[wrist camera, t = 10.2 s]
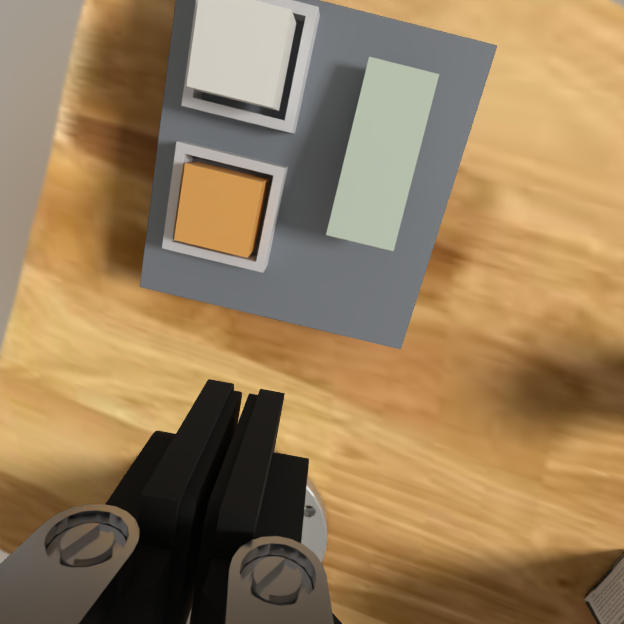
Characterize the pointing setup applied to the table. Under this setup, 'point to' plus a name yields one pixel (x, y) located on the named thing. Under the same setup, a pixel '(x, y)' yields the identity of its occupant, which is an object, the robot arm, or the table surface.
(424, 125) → the block
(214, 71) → the cream button
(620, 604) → the candy bar box
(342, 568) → the table surface
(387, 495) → the table surface
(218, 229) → the orange button
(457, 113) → the switch panel
